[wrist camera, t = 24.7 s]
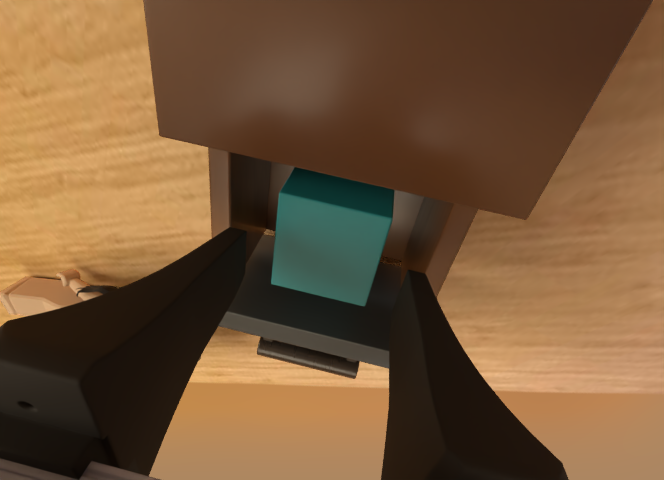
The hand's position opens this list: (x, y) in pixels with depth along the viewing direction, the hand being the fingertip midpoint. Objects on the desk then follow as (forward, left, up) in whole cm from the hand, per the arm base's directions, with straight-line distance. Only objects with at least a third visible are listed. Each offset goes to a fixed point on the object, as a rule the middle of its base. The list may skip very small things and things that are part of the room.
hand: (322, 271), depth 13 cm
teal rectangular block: (0, 0, -6) cm, 6 cm away
